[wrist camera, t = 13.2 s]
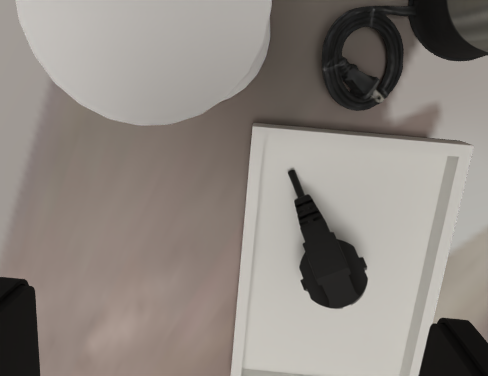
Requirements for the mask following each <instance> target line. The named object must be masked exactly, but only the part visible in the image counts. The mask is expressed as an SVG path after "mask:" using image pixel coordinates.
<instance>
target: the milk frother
mask: <svg viewBox="0 0 488 376" xmlns="http://www.w3.org/2000/svg"><path fill="white" fill-rule="evenodd" d="M386 14H393V15H400V16H409V18H410V22H411V25H412V29H413V31H414V33H415V35H416V37H417V38H418V40H419V41H420V43H421V44H422V45H423V46H424V47H425V48H426V49H427V50H428V51H430V52H431V53H433V54H434V55H436V56H438V57H441V58H443V59H446V60H451V61H469V60H473V59H476V58H479V57H483V56H485V55H488V0H409V6H406V7H395V6H369V7H360V8H356V9H352V10H350V11H348V12H346V13H345V14H343V15H342V16H340V17H339V18H338V19H337V20H336V21H335V22H334V24H333V25H332V26H331V28H330V30H329V31H328V34H327V36H326V38H325V41H324V45H323V52H322V69H323V76H324V81H325V85H326V87H327V89H328V91H329V93H330V95H331V96H332V98H333V99H334V100H335V101H336V102H337V103H338V104H340V105H341V106H343V107H345V108H347V109H351V110H356V111H359V110H366V109H370V108H371V107H374V106H375V105H377V104H379V103H382V102H383V101H384V99H385V98H386V97H387V96H388V95H389V93H390V92H391V91H392V90H393V89H394V87H395V86H396V84H397V82H398V80H399V78H400V76H401V73H402V69H403V64H402V63H403V44H402V39H401V36H400V33H399V31H398V30H397V28H396V26H395V25H394V23H393V22H392V21H391V20H390V19H389V18H388V17H387V16H386ZM365 26H366V27H372V28H374V29H376V30H377V31H378V32H379V33H380V34H381V36H382V37H383V39H384V41H385V44H386V47H387V52H388V65H387V69H386V73H385V76H384V78H383V81H382V83H381V84H380V86H379V87H378V89H376V88H377V86H378V84H379V82H380V80H379V78H377V77H372V76H368V75H366V74H365V73H363V72H361V71H359V69H358V68H357V66H356V65H354V64H349V63H348V61H347V59H346V58H344V57H342V48H343V45H344V42H345V40H346V39H347V37H348V36H349V35H350V34H351V33H352V32H353V31H355V30H357V29H359V28H361V27H365ZM343 81H344V82H345V83H346V84H347V85H348V86H349V87H350V88H351V91H350V92H349V91H348V89H347V88H346V87H345V85H344V84H343Z"/></svg>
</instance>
